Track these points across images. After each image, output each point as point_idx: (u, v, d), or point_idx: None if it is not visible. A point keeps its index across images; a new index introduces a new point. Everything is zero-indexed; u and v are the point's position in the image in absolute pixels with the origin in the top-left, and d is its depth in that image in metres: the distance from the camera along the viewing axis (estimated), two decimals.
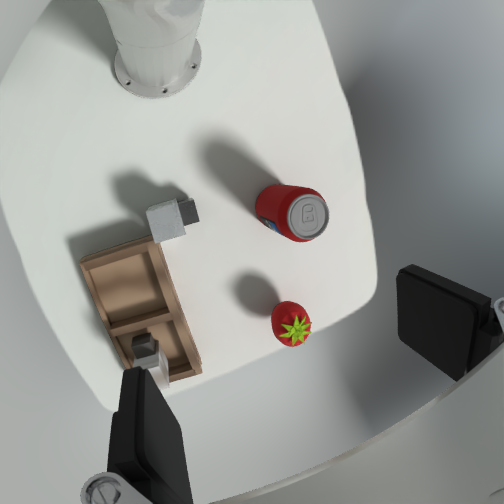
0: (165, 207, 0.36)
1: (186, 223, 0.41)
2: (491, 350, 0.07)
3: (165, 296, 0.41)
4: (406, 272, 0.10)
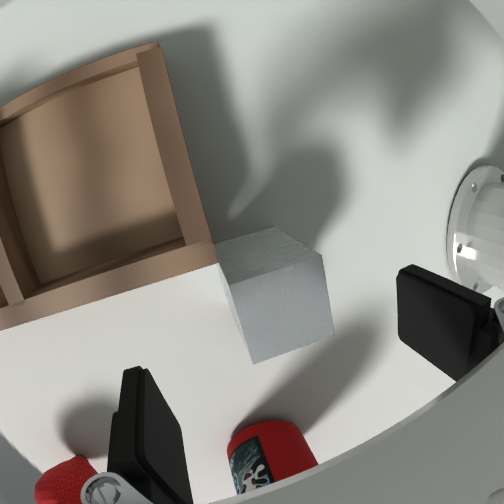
0: (327, 307, 0.14)
1: None
2: (491, 350, 0.07)
3: (61, 290, 0.13)
4: (406, 272, 0.10)
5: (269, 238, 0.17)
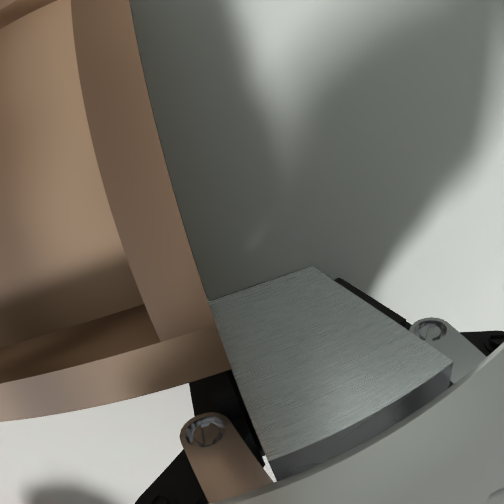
0: None
1: None
2: None
3: None
4: None
5: (315, 296, 0.09)
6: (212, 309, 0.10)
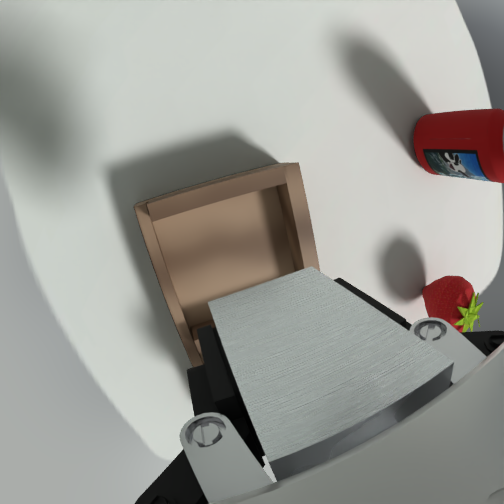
0: None
1: None
2: None
3: None
4: None
5: (316, 296, 0.09)
6: (212, 309, 0.10)
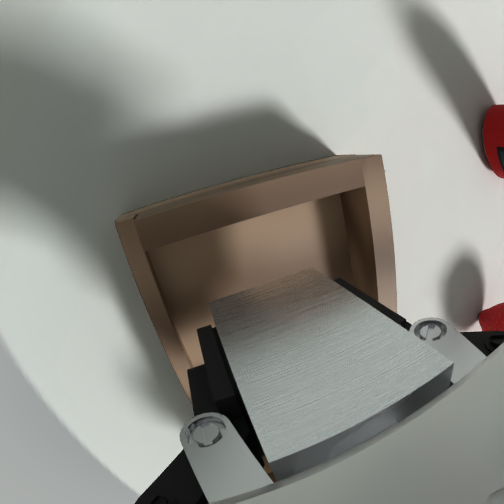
0: None
1: None
2: None
3: None
4: None
5: (316, 297, 0.09)
6: (212, 310, 0.10)
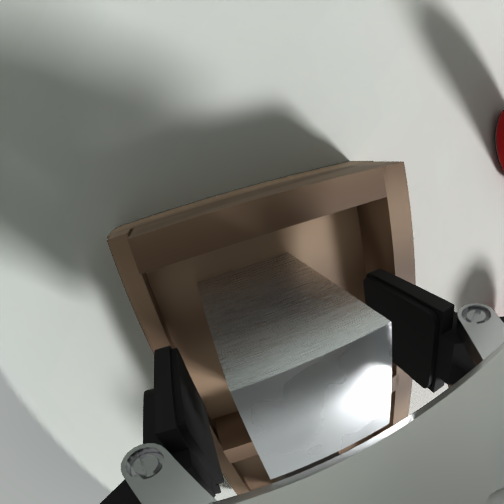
0: (386, 394, 0.07)
1: None
2: (454, 357, 0.07)
3: None
4: (372, 276, 0.10)
5: (285, 275, 0.11)
6: (199, 287, 0.12)
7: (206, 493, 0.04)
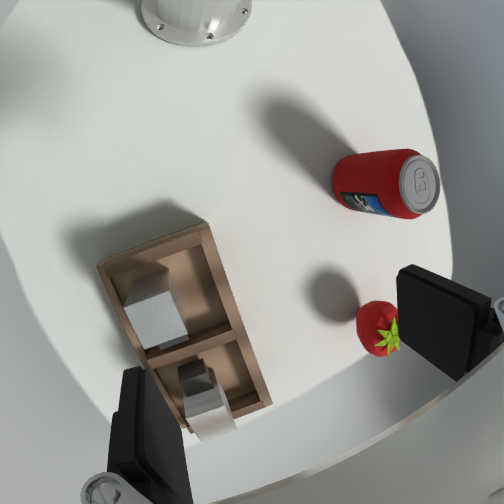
0: (179, 318, 0.24)
1: None
2: (491, 350, 0.07)
3: (226, 307, 0.30)
4: (406, 272, 0.10)
5: (159, 278, 0.28)
6: (132, 284, 0.29)
7: None
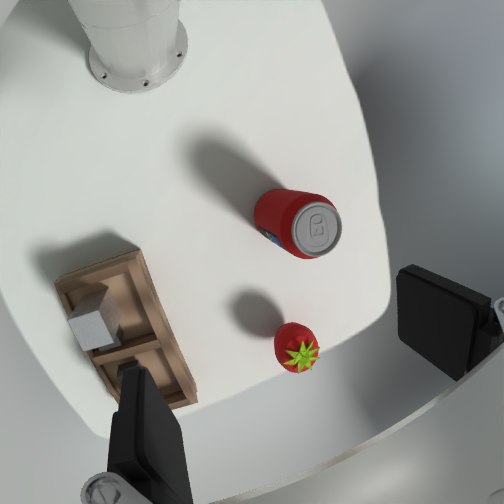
0: (106, 331, 0.29)
1: None
2: (491, 350, 0.07)
3: (151, 321, 0.35)
4: (406, 272, 0.10)
5: (99, 296, 0.33)
6: (81, 298, 0.34)
7: None
